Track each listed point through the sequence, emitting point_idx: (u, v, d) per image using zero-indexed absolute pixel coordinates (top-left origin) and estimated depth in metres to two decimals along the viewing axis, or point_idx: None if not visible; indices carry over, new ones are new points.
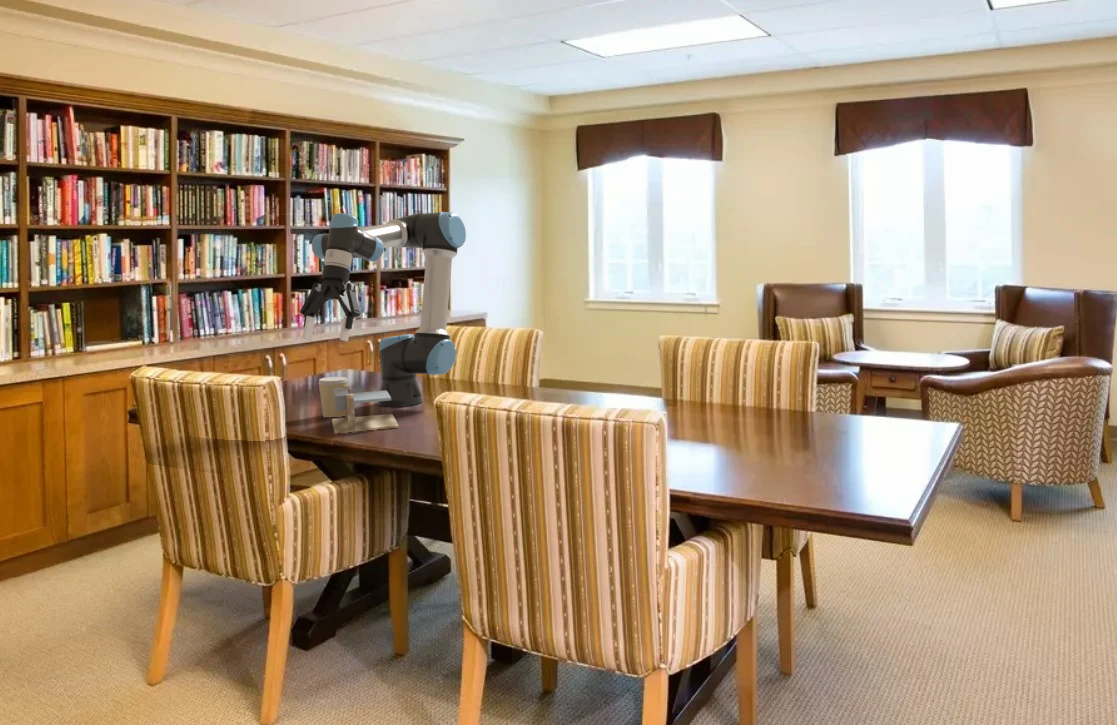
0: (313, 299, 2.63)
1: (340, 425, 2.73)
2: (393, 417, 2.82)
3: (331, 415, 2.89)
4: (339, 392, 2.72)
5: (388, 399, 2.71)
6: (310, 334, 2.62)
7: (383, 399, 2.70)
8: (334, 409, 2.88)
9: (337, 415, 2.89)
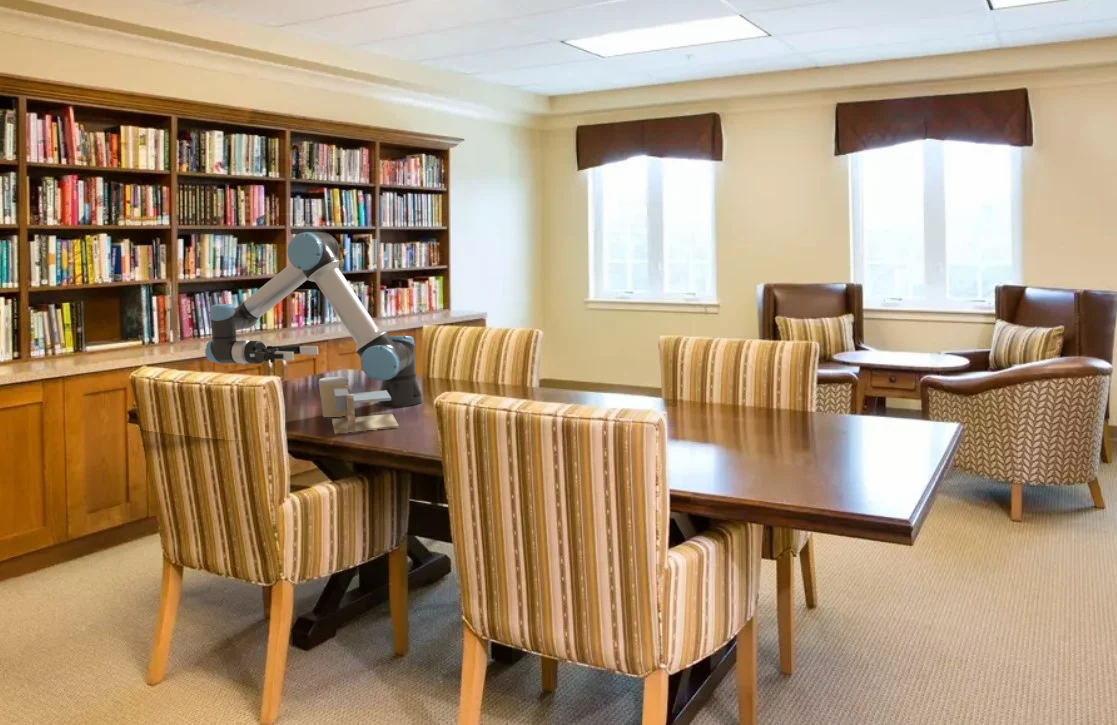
0: None
1: (340, 425, 2.73)
2: (393, 417, 2.82)
3: (331, 415, 2.89)
4: (339, 392, 2.72)
5: (388, 399, 2.71)
6: (312, 348, 2.99)
7: (383, 399, 2.70)
8: (334, 409, 2.88)
9: (337, 415, 2.89)
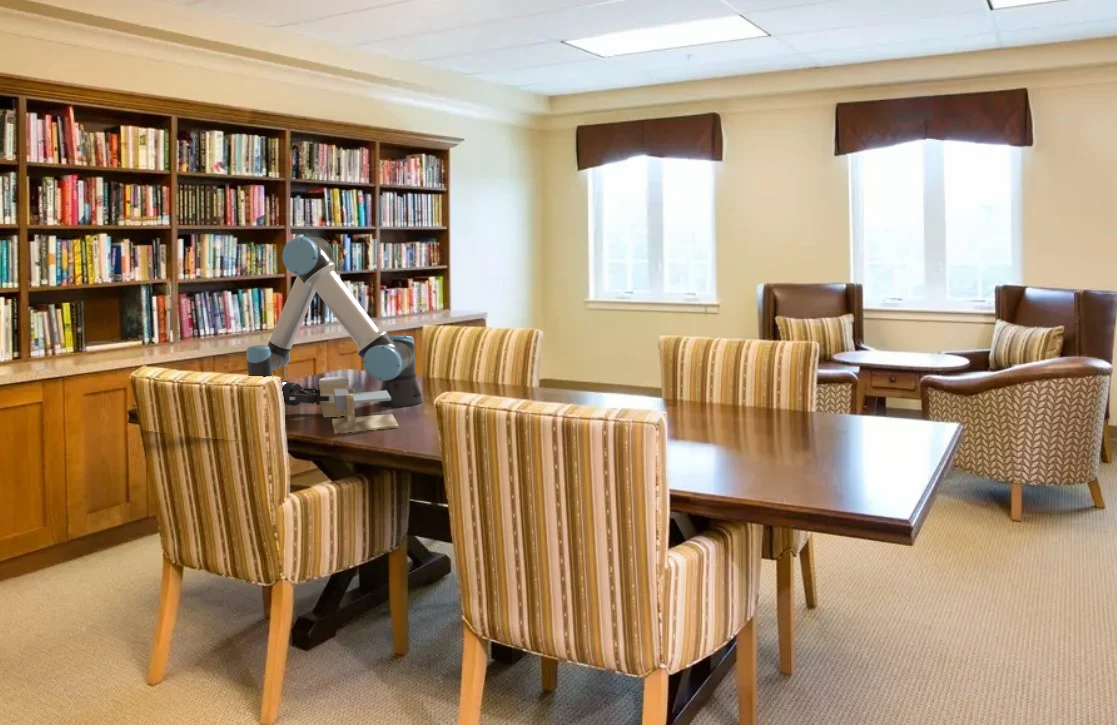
0: None
1: (340, 425, 2.73)
2: (393, 417, 2.82)
3: (331, 415, 2.89)
4: (339, 392, 2.72)
5: (388, 399, 2.71)
6: None
7: (383, 399, 2.70)
8: (334, 409, 2.88)
9: (337, 415, 2.89)
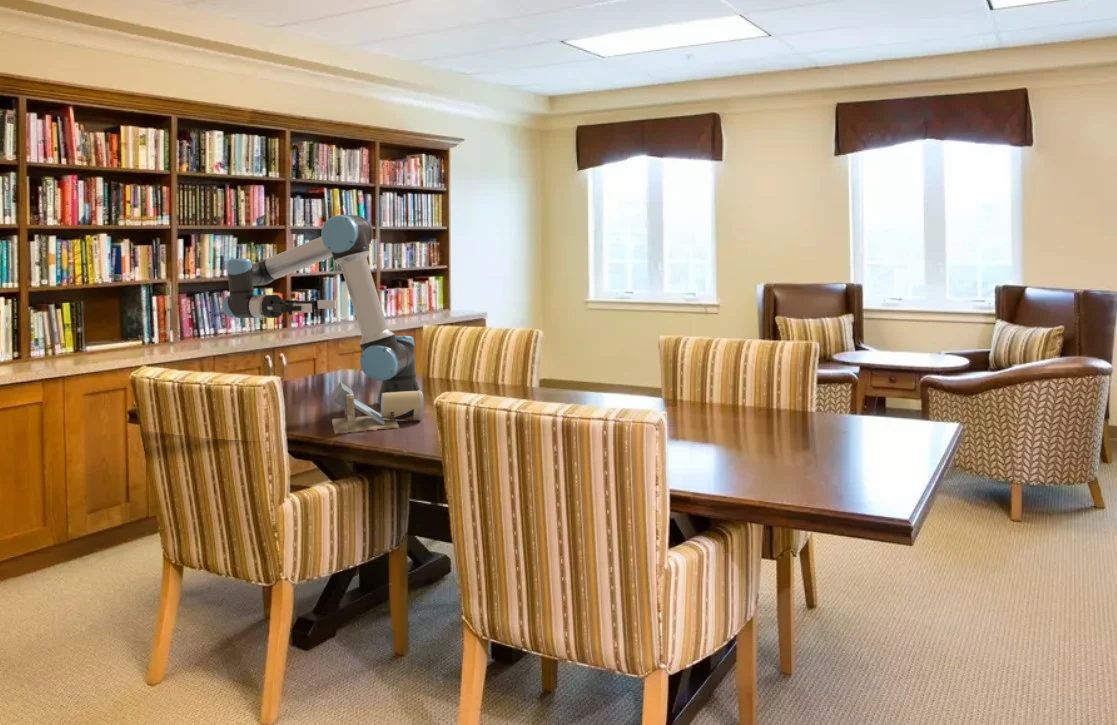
0: None
1: (340, 425, 2.73)
2: None
3: (385, 403, 2.73)
4: (345, 388, 2.72)
5: (381, 422, 2.71)
6: (330, 302, 2.97)
7: (377, 419, 2.71)
8: (392, 407, 2.74)
9: (385, 409, 2.73)
